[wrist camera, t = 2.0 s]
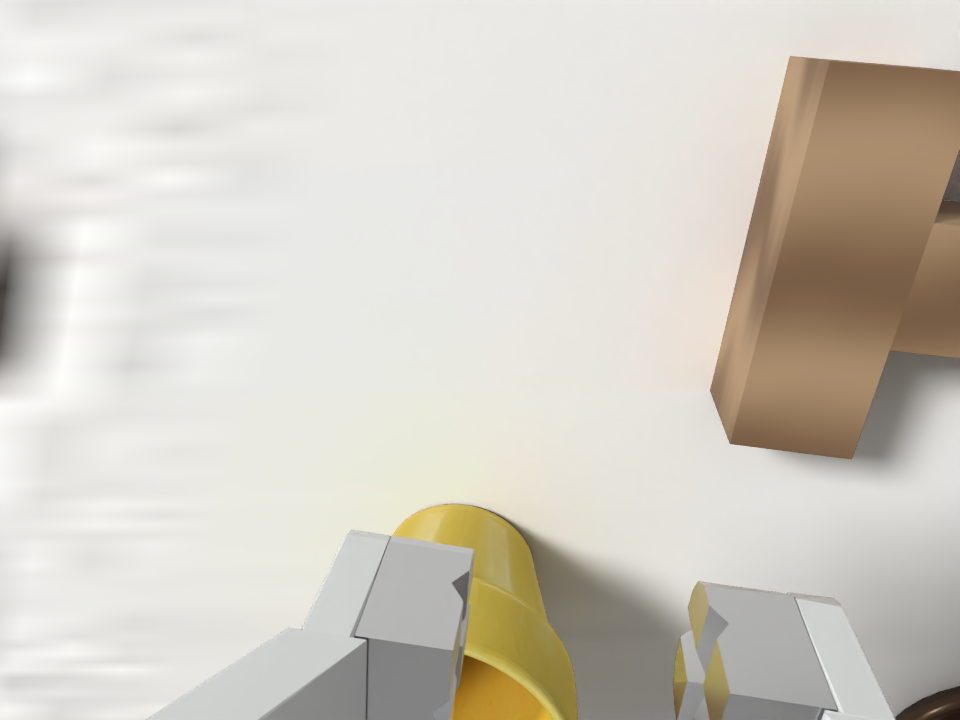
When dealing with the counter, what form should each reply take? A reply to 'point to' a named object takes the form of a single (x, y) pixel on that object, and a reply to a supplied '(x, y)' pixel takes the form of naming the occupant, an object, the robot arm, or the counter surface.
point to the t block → (842, 253)
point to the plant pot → (501, 622)
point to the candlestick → (935, 707)
